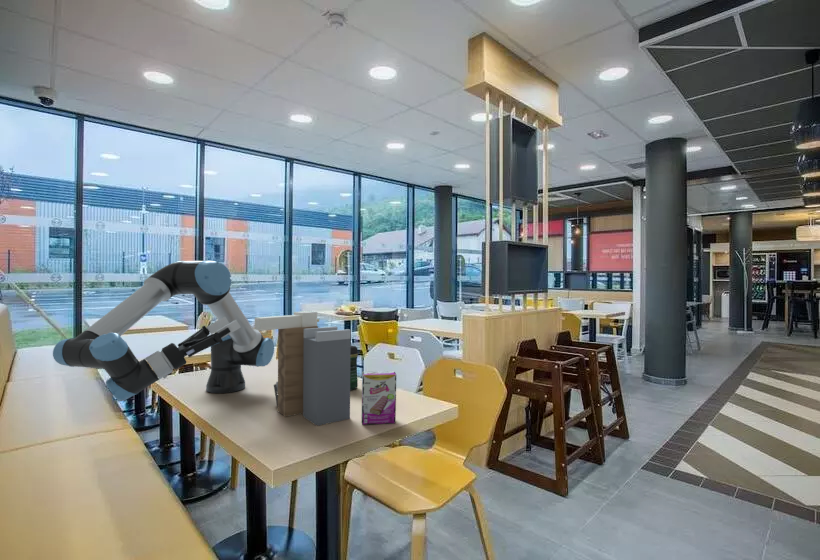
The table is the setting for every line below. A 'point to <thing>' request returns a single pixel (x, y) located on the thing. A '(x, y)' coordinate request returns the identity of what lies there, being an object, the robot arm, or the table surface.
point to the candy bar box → (378, 397)
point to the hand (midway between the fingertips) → (232, 321)
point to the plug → (287, 321)
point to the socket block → (326, 375)
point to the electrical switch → (276, 391)
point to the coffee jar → (353, 367)
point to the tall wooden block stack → (290, 370)
